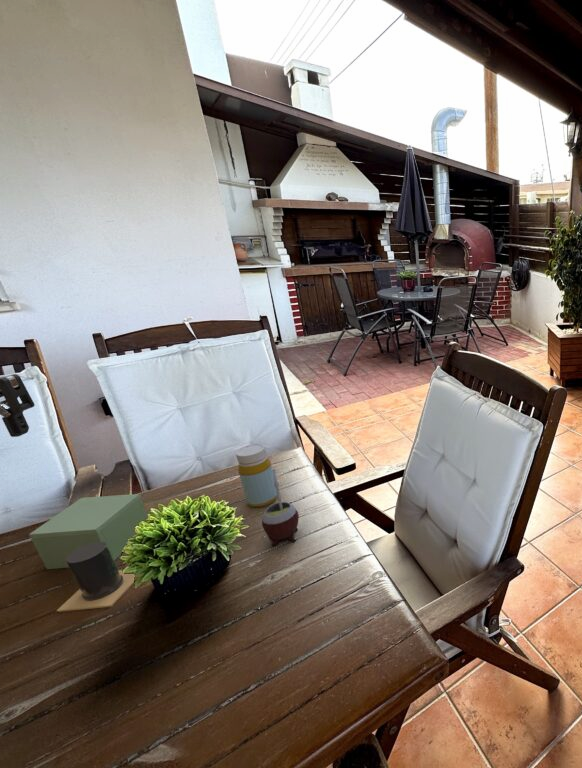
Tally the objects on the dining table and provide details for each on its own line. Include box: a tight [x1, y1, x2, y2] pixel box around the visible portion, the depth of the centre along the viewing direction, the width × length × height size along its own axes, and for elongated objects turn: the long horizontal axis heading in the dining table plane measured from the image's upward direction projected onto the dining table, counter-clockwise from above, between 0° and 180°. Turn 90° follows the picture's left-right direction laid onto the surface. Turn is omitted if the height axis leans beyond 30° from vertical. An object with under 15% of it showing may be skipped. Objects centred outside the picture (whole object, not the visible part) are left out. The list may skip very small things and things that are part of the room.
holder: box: [66, 542, 124, 601], centre depth 76 cm, size 6×6×9 cm
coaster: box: [56, 569, 135, 613], centre depth 78 cm, size 9×9×1 cm
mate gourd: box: [261, 468, 300, 548], centre depth 89 cm, size 8×8×15 cm
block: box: [28, 493, 149, 570], centre depth 87 cm, size 12×12×9 cm
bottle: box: [235, 443, 278, 508], centre depth 101 cm, size 7×7×15 cm
